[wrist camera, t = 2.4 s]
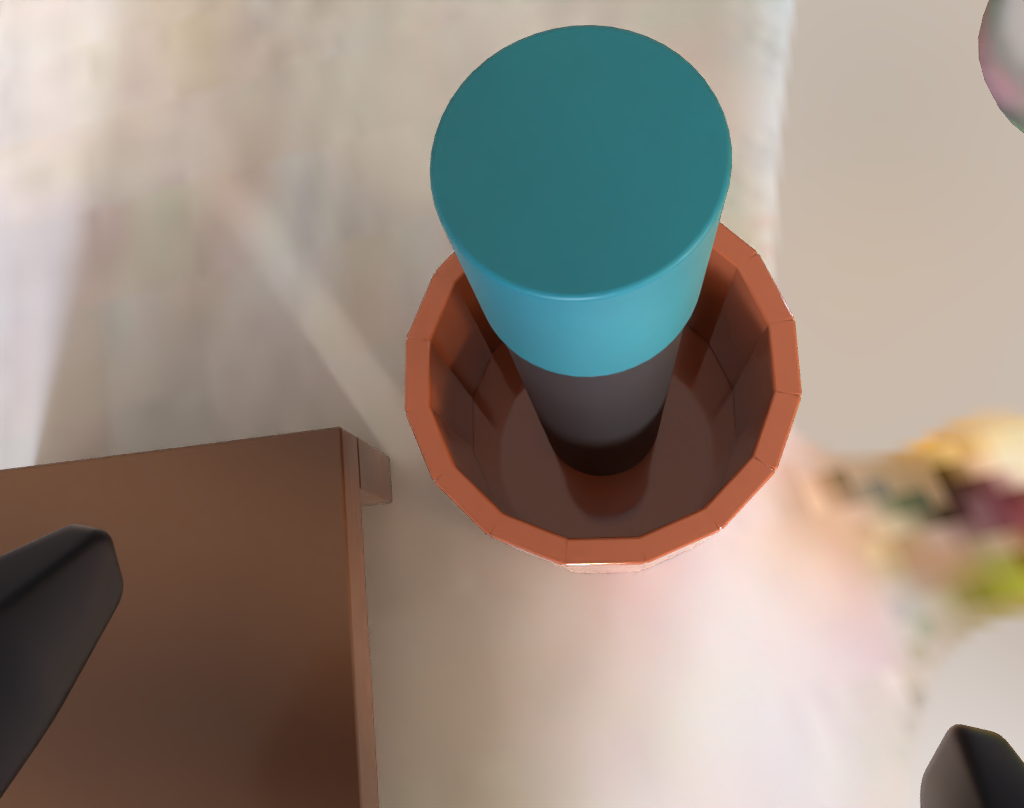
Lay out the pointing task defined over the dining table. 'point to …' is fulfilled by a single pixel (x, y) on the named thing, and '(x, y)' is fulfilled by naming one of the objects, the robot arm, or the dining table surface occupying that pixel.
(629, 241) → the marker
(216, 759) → the shelf
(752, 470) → the pen cup
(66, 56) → the dining table surface
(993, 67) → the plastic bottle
